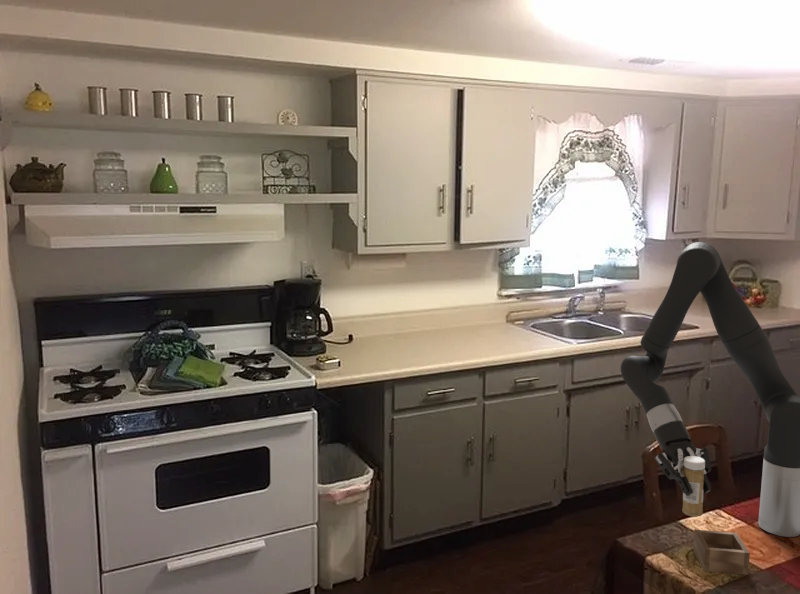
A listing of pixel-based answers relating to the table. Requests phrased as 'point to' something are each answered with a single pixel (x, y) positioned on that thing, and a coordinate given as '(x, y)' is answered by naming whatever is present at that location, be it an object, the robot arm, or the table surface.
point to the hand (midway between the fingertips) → (698, 492)
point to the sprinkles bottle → (694, 485)
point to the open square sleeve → (721, 552)
